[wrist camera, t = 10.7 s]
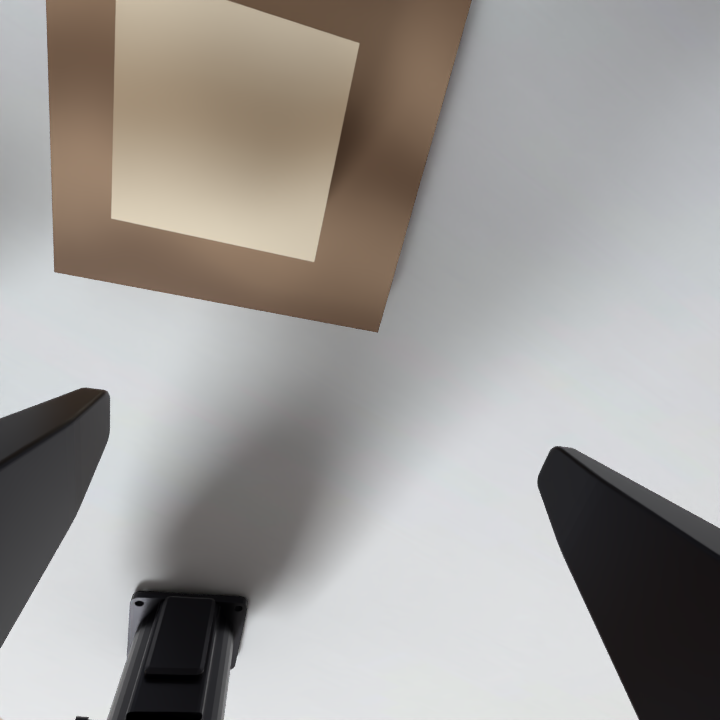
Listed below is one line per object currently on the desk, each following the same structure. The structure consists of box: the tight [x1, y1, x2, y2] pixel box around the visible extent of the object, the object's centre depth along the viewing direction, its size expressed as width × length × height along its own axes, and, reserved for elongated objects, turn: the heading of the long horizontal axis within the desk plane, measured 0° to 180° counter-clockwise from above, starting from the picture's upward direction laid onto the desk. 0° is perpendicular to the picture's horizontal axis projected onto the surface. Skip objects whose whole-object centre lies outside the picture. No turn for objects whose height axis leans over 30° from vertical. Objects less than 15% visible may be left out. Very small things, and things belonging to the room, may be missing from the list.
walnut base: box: [46, 0, 472, 332], centre depth 16 cm, size 12×12×2 cm
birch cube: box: [111, 0, 360, 262], centre depth 13 cm, size 5×5×5 cm
